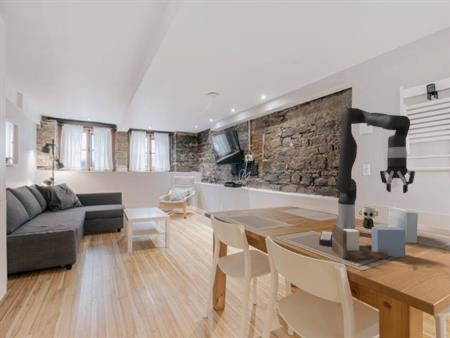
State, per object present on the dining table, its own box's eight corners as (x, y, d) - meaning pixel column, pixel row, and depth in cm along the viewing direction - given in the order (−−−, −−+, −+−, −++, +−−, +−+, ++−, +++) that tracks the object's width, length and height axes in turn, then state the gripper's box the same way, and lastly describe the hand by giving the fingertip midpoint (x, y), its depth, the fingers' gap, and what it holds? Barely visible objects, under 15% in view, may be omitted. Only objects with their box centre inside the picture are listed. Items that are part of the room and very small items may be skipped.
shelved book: (354, 252, 110) (354, 229, 110) (359, 256, 105) (359, 231, 105) (339, 252, 110) (339, 228, 110) (343, 256, 105) (343, 231, 105)
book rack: (374, 250, 113) (374, 225, 113) (389, 259, 102) (389, 231, 102) (332, 250, 113) (332, 225, 113) (343, 259, 102) (343, 231, 102)
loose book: (398, 253, 109) (398, 227, 109) (405, 257, 105) (405, 229, 105) (371, 253, 110) (371, 227, 110) (377, 256, 105) (377, 229, 105)
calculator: (319, 238, 121) (321, 230, 135) (319, 246, 122) (321, 237, 135) (343, 241, 116) (343, 232, 130) (343, 250, 117) (343, 240, 130)
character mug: (358, 227, 156) (358, 208, 156) (358, 225, 162) (358, 206, 162) (378, 229, 151) (378, 209, 151) (377, 227, 157) (377, 207, 157)
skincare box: (418, 243, 123) (418, 213, 123) (406, 243, 124) (406, 212, 124) (397, 233, 144) (397, 206, 144) (387, 232, 145) (387, 206, 145)
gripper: (376, 157, 117) (377, 191, 117) (413, 156, 106) (413, 194, 106) (382, 157, 122) (382, 190, 122) (417, 156, 111) (417, 193, 111)
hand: (396, 192), depth 114 cm, fingers open, 5 cm apart
